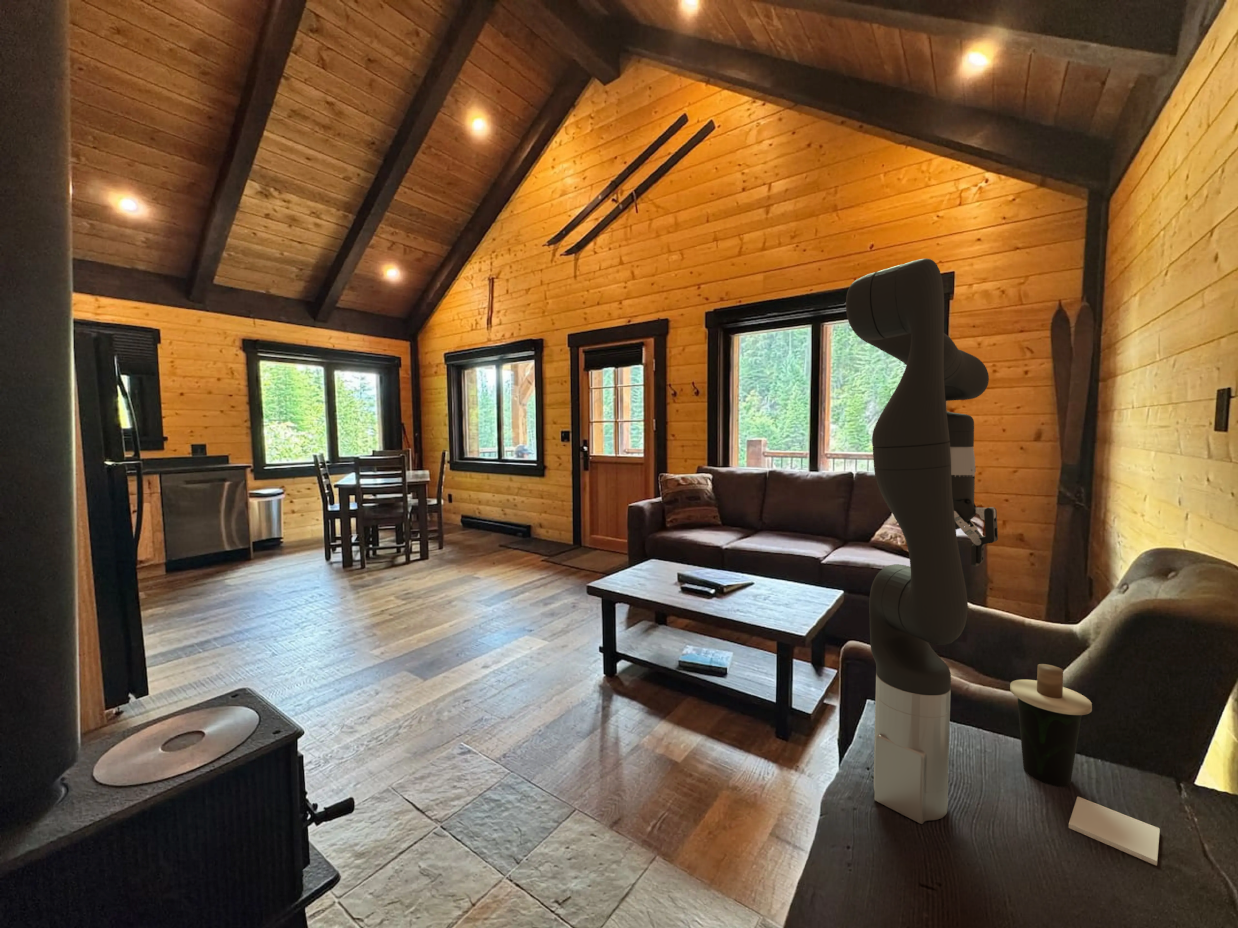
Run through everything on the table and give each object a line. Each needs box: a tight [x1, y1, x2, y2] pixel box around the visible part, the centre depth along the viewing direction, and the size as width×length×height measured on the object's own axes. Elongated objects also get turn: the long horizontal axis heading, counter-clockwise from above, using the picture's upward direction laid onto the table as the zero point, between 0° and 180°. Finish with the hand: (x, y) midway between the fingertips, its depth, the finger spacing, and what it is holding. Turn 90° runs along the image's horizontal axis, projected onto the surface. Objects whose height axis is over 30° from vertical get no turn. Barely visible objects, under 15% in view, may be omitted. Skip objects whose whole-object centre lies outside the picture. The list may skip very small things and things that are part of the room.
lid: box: [1009, 663, 1093, 716], centre depth 77 cm, size 10×10×5 cm
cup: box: [1017, 698, 1083, 788], centre depth 77 cm, size 8×8×12 cm
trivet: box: [1068, 796, 1161, 867], centre depth 66 cm, size 8×8×1 cm
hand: (947, 561), depth 90 cm, fingers open, 8 cm apart
